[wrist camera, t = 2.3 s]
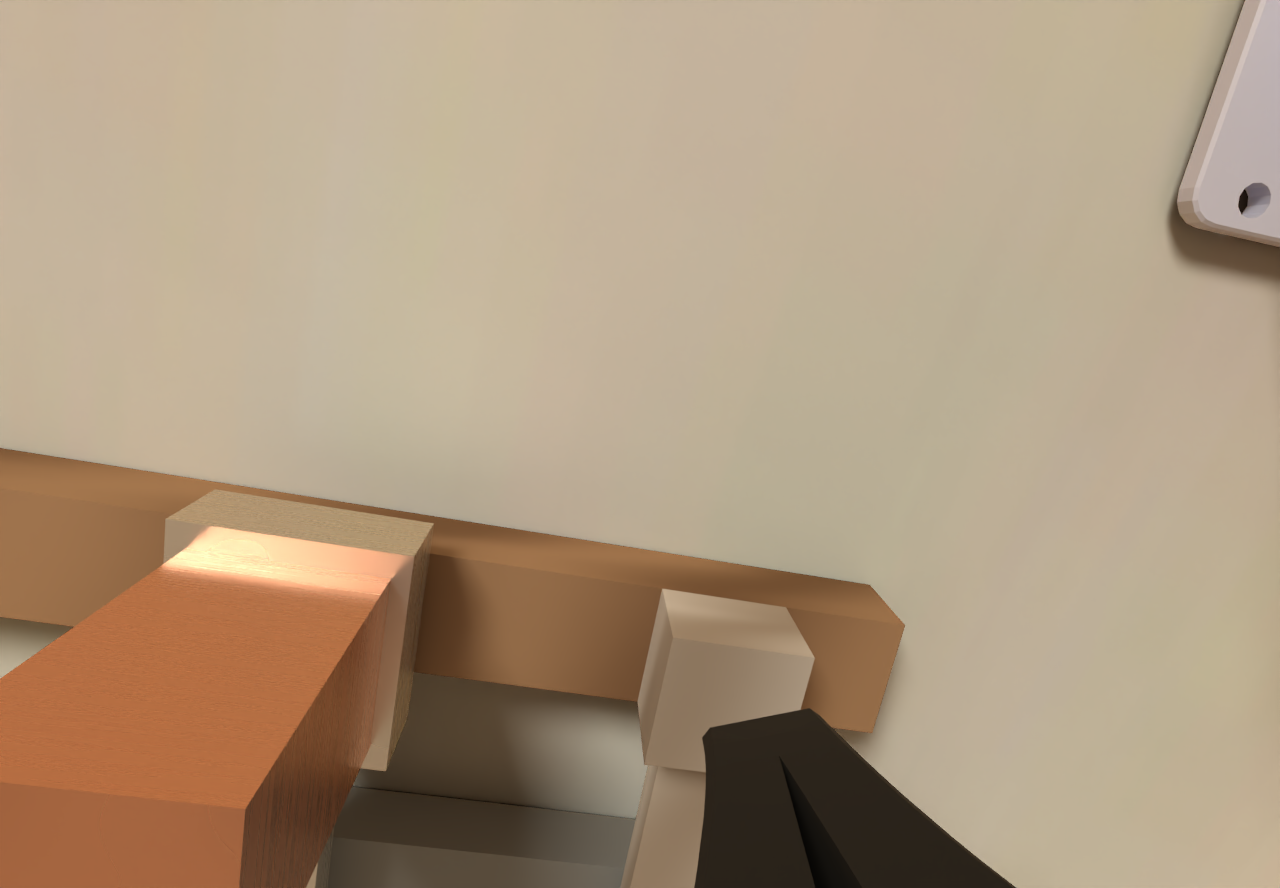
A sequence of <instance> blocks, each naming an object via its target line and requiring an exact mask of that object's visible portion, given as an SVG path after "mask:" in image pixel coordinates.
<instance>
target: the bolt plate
mask: <svg viewBox="0 0 1280 888" xmlns="http://www.w3.org/2000/svg"><path fill="white" fill-rule="evenodd" d="M635 820H636V819H629V818H621V817H612V816H603V815H595V814H586V813H577V812H568V811H560V810H551V809H542V808H533V807H525V806H516V805H507V804H499V803H490V802H481V801H472V800H464V799H455V798H446V797H437V796H429V795H420V794H411V793H403V792H394V791H385V790H376V789H368V788H359V787H352V788H351V790H350V792H349V794H348V797H347V799H346V801H345V803H344V805H343V808H342V810H341V812H340V814H339V816H338V819H337V821H336V823H335V825H334V832H333V840H332V849H331V858H330V867H329V875H328V884H327V888H620V886H621V882H622V877H623V873H624V869H625V864H626V860H627V855H628V851H629V847H630V842H631V838H632V833H633V829H634V825H635Z"/></svg>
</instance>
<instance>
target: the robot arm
mask: <svg viewBox="0 0 1280 888" xmlns="http://www.w3.org/2000/svg"><path fill="white" fill-rule="evenodd" d="M1244 189H1245V190H1246V192H1247V195H1248V204H1247V207H1246V209H1245V210H1244V212H1243V214H1241V212H1240V210H1239V208H1238V203H1239V196H1240V195H1241V193H1242V192H1243V190H1244ZM1177 205H1178V210H1179V214H1180V216H1181V217H1182V218H1183V220H1184V221H1185V223H1187V224H1189V225H1191V226H1193V227H1195V228H1198V229H1202V230H1207V231H1211V232H1216V233H1220V234H1224V235H1229V236H1233V237H1237V238H1242V239H1246V240H1251V241H1255V242H1259V243H1264V244H1268V245H1273V246H1277V247H1280V0H1245V2H1244V5H1243V8H1242V11H1241V13H1240V16H1239V19H1238V22H1237V25H1236V28H1235V31H1234V34H1233V36H1232V39H1231V42H1230V45H1229V48H1228V51H1227V54H1226V56H1225V59H1224V62H1223V65H1222V68H1221V71H1220V74H1219V76H1218V79H1217V82H1216V85H1215V88H1214V91H1213V94H1212V97H1211V99H1210V102H1209V105H1208V108H1207V111H1206V114H1205V117H1204V119H1203V122H1202V125H1201V128H1200V131H1199V134H1198V137H1197V139H1196V142H1195V145H1194V148H1193V151H1192V154H1191V157H1190V160H1189V162H1188V165H1187V168H1186V171H1185V174H1184V177H1183V180H1182V182H1181V185H1180V188H1179V193H1178V199H1177ZM702 741H703V747H704V752H705V764H706V789H705V804H704V818H703V826H702V834H701V842H700V850H699V858H698V866H697V873H696V880H695V886H694V888H1016V887H1014V886H1013V885H1012V884H1011V883H1009V882H1008V881H1007V880H1005V879H1004V878H1003V877H1001V876H1000V875H999V874H998V873H996V872H995V871H994V870H992V869H991V868H990V867H989V866H987V865H986V864H985V863H983V862H982V861H981V860H980V859H978V858H977V857H976V856H975V855H973V854H972V853H971V852H970V851H969V850H967V849H966V848H965V847H964V846H962V845H961V844H960V843H959V842H957V841H956V840H955V839H954V838H953V837H951V836H950V835H949V834H948V833H947V832H946V831H944V830H943V829H942V828H941V827H940V826H939V825H937V824H936V823H935V822H934V821H933V820H932V819H930V818H929V817H928V816H927V815H926V814H925V813H923V812H922V811H921V810H920V809H919V808H917V807H916V806H915V805H914V804H913V803H912V802H910V801H909V800H908V799H907V798H906V797H905V796H904V795H902V794H901V793H900V792H899V791H898V790H897V789H896V788H895V787H894V786H892V785H891V784H890V783H889V782H888V781H887V780H886V779H885V778H884V777H883V776H882V775H880V774H879V773H878V772H877V771H876V770H875V769H874V768H873V767H872V766H871V765H870V764H869V763H868V762H866V761H865V760H864V759H863V758H862V757H861V756H860V755H859V754H858V753H857V752H856V751H855V750H854V749H853V748H852V747H851V746H850V745H849V744H848V743H847V742H846V741H845V740H844V739H843V738H842V737H841V736H840V735H839V734H838V733H837V732H836V731H835V730H834V729H833V728H832V727H831V726H830V725H829V724H828V723H827V722H826V721H825V720H824V719H823V718H822V717H821V716H820V715H819V714H817V713H816V712H814V711H813V710H812V709H810V708H807V709H802V710H797V711H792V712H787V713H782V714H777V715H772V716H767V717H761V718H756V719H751V720H746V721H741V722H736V723H731V724H726V725H720V726H715V727H710V728H709V729H708V731H707V732H706V733H705V734H704V736H703V737H702Z"/></svg>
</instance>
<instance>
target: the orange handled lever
mask: <svg viewBox="0 0 1280 888" xmlns="http://www.w3.org/2000/svg"><path fill="white" fill-rule="evenodd" d="M433 527H434V523H428V522H421V521H415V520H408V519H402V518H396V517H389V516H383V515H377V514H370V513H364V512H357V511H351V510H345V509H338V508H332V507H325V506H319V505H313V504H306V503H300V502H293V501H287V500H281V499H274V498H268V497H261V496H255V495H249V494H242V493H236V492H229V491H223V490H217V489H215V490H213V491H211V492H210V493H208V494H206V495H205V496H203V497H201V498H200V499H198V500H196V501H195V502H193V503H191V504H190V505H188V506H186V507H185V508H183V509H181V510H180V511H178V512H176V513H175V514H173V515H171V516H170V517H168V518H166V519H165V541H164V563H163V565H161V566H160V567H159V568H157V569H156V570H154V571H153V572H152V573H150V574H149V575H147V576H146V577H144V578H143V579H142V580H140V581H139V582H137V583H136V584H134V585H133V586H132V587H130V588H129V589H127V590H126V591H124V592H123V593H122V594H120V595H119V596H117V597H116V598H115V599H113V600H112V601H110V602H109V603H107V604H106V605H105V606H103V607H102V608H100V609H99V610H97V611H96V612H95V613H93V614H92V615H90V616H89V617H87V618H86V619H85V620H83V621H82V622H80V623H79V624H78V625H76V626H75V627H73V628H72V629H70V630H69V631H68V632H66V633H65V634H63V635H62V636H60V637H59V638H58V639H56V640H55V641H53V642H52V643H50V644H49V645H48V646H46V647H45V648H43V649H42V650H41V651H39V652H38V653H36V654H35V655H33V656H32V657H31V658H29V659H28V660H26V661H25V662H23V663H22V664H21V665H19V666H18V667H16V668H15V669H13V670H12V671H11V672H9V673H8V674H6V675H5V676H4V677H2V678H1V679H0V888H327V884H328V875H329V867H330V858H331V849H332V840H333V832H334V825H335V823H336V821H337V819H338V816H339V814H340V812H341V810H342V808H343V805H344V803H345V801H346V799H347V797H348V794H349V792H350V790H351V788H352V786H353V784H354V781H355V779H356V777H357V775H358V773H359V770H360V768H363V769H371V770H380V771H386V770H387V768H388V765H389V763H390V760H391V758H392V755H393V753H394V750H395V748H396V745H397V743H398V740H399V738H400V735H401V733H402V730H403V728H404V725H405V723H406V720H407V718H408V711H409V703H410V696H411V689H412V681H413V674H414V667H415V659H416V652H417V645H418V637H419V630H420V623H421V615H422V608H423V601H424V593H425V586H426V579H427V571H428V564H429V557H430V549H431V542H432V535H433Z"/></svg>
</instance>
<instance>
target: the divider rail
mask: <svg viewBox="0 0 1280 888" xmlns="http://www.w3.org/2000/svg"><path fill="white" fill-rule="evenodd" d="M215 489H217V490H223V491H229V492H236V493H242V494H249V495H255V496H261V497H268V498H274V499H281V500H287V501H293V502H300V503H306V504H313V505H319V506H325V507H332V508H338V509H345V510H351V511H357V512H364V513H370V514H377V515H383V516H389V517H396V518H402V519H408V520H415V521H421V522H428V523H434V527H433V535H432V542H431V549H430V557H429V564H428V571H427V579H426V586H425V593H424V601H423V608H422V615H421V623H420V630H419V637H418V645H417V652H416V659H415V667H414V672H418V673H426V674H433V675H441V676H448V677H456V678H463V679H471V680H478V681H486V682H493V683H501V684H508V685H516V686H523V687H531V688H538V689H546V690H553V691H561V692H568V693H576V694H583V695H591V696H598V697H606V698H613V699H621V700H628V701H636V702H638V711H639V720H640V730H641V739H642V748H643V757H644V765H648V768H647V772H646V776H645V781H644V785H643V790H642V794H641V798H640V803H639V807H638V811H637V816H636V820H635V825H634V829H633V833H632V838H631V842H630V847H629V851H628V855H627V860H626V864H625V869H624V873H623V877H622V882H621V886H620V888H694V886H695V880H696V873H697V866H698V858H699V850H700V842H701V834H702V826H703V818H704V804H705V789H706V764H705V752H704V747H703V741H702V737H703V736H704V734H705V733H706V732H707V731H708V729H709V728H710V727H715V726H720V725H726V724H731V723H736V722H741V721H746V720H751V719H756V718H761V717H767V716H772V715H777V714H782V713H787V712H792V711H797V710H802V709H807V708H810V709H812V710H813V711H814V712H816V713H817V714H819V715H820V716H821V717H822V718H823V719H824V720H825V721H826V722H827V723H828V724H829V725H830V726H831V727H832V728H839V729H846V730H854V731H861V732H869V733H872V732H873V728H874V725H875V722H876V718H877V715H878V712H879V709H880V705H881V702H882V699H883V696H884V692H885V689H886V686H887V683H888V679H889V676H890V673H891V670H892V666H893V663H894V660H895V656H896V653H897V650H898V647H899V643H900V640H901V637H902V634H903V630H904V627H905V625H904V624H903V623H902V621H901V620H900V619H899V618H898V617H897V616H896V615H895V613H894V612H893V611H892V610H891V609H890V608H889V606H888V605H887V604H886V603H885V602H884V601H883V600H882V598H881V597H880V596H879V595H878V594H877V593H876V592H875V590H874V589H873V588H872V587H871V586H870V585H866V584H860V583H854V582H847V581H841V580H835V579H828V578H822V577H816V576H809V575H803V574H797V573H790V572H784V571H777V570H771V569H765V568H758V567H752V566H746V565H739V564H733V563H727V562H720V561H714V560H708V559H701V558H695V557H688V556H682V555H676V554H669V553H663V552H657V551H650V550H644V549H638V548H631V547H625V546H619V545H612V544H606V543H600V542H593V541H587V540H580V539H574V538H568V537H561V536H555V535H549V534H542V533H536V532H530V531H523V530H517V529H511V528H504V527H498V526H491V525H485V524H479V523H472V522H466V521H460V520H453V519H447V518H441V517H434V516H428V515H422V514H415V513H409V512H403V511H396V510H390V509H383V508H377V507H371V506H364V505H358V504H352V503H345V502H339V501H333V500H326V499H320V498H314V497H307V496H301V495H295V494H288V493H282V492H275V491H269V490H263V489H256V488H250V487H244V486H237V485H231V484H225V483H218V482H212V481H206V480H199V479H193V478H186V477H180V476H174V475H167V474H161V473H155V472H148V471H142V470H136V469H129V468H123V467H117V466H110V465H104V464H98V463H91V462H85V461H78V460H72V459H66V458H59V457H53V456H47V455H40V454H34V453H28V452H21V451H15V450H9V449H2V448H0V617H5V618H13V619H20V620H28V621H35V622H43V623H50V624H58V625H65V626H73V627H75V626H76V625H78V624H79V623H80V622H82V621H83V620H85V619H86V618H87V617H89V616H90V615H92V614H93V613H95V612H96V611H97V610H99V609H100V608H102V607H103V606H105V605H106V604H107V603H109V602H110V601H112V600H113V599H115V598H116V597H117V596H119V595H120V594H122V593H123V592H124V591H126V590H127V589H129V588H130V587H132V586H133V585H134V584H136V583H137V582H139V581H140V580H142V579H143V578H144V577H146V576H147V575H149V574H150V573H152V572H153V571H154V570H156V569H157V568H159V567H160V566H161V565H163V563H164V541H165V519H166V518H168V517H170V516H171V515H173V514H175V513H176V512H178V511H180V510H181V509H183V508H185V507H186V506H188V505H190V504H191V503H193V502H195V501H196V500H198V499H200V498H201V497H203V496H205V495H206V494H208V493H210V492H211V491H213V490H215Z"/></svg>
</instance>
